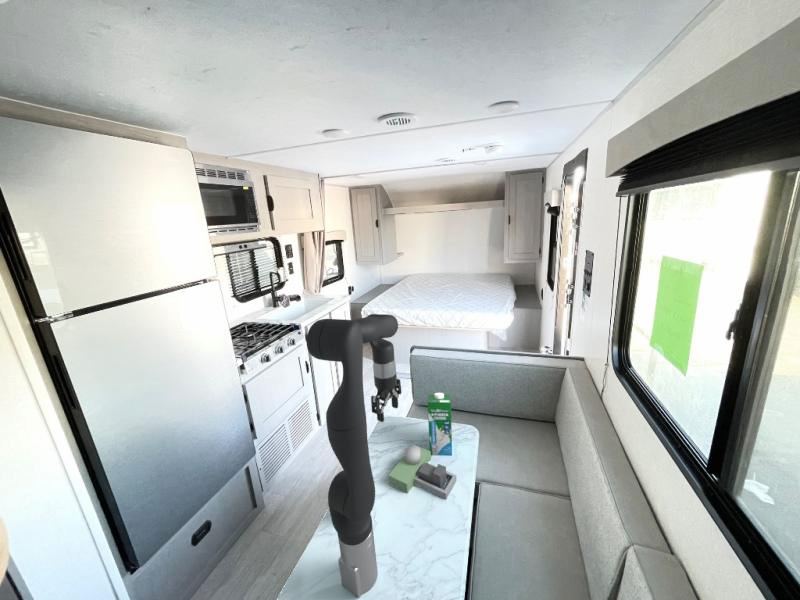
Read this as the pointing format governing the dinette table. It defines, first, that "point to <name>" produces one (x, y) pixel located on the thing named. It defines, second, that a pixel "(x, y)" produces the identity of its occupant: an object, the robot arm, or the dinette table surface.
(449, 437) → the milk carton
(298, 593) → the dinette table surface
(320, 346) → the robot arm
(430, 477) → the grey stepped block
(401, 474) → the multicoloured piece
